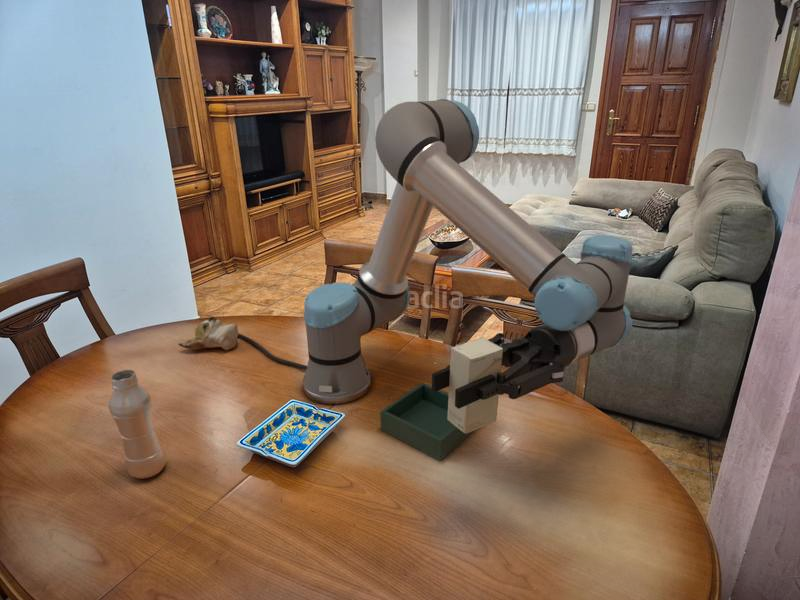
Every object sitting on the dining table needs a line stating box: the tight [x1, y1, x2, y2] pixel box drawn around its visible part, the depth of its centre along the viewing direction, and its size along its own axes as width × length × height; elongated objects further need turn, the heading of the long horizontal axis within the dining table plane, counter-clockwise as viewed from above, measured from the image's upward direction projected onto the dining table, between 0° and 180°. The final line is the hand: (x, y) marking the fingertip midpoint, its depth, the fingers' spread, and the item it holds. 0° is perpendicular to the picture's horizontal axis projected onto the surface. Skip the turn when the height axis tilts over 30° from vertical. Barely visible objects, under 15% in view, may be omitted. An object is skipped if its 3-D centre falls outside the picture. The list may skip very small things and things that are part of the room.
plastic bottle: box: [108, 369, 167, 480], centre depth 88 cm, size 6×7×20 cm
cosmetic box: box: [447, 337, 503, 434], centre depth 73 cm, size 6×4×12 cm
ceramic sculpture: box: [178, 317, 239, 351], centre depth 135 cm, size 11×9×15 cm
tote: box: [379, 382, 474, 462], centre depth 102 cm, size 15×14×4 cm
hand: (445, 390), depth 70 cm, fingers closed on cosmetic box, 4 cm apart
